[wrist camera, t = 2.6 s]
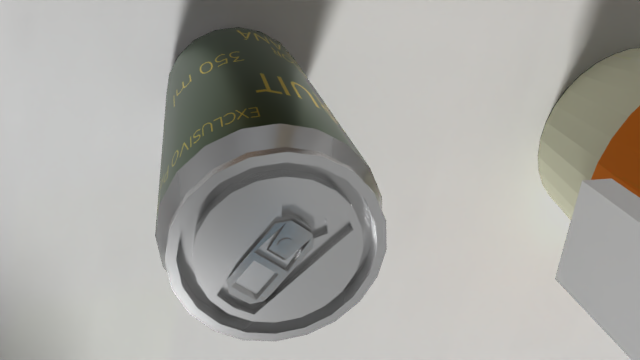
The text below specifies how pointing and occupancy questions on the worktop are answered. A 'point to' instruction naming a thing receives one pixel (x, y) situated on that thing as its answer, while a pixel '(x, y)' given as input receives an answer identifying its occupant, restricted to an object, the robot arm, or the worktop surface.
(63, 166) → the worktop surface
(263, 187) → the beer can
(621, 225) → the robot arm
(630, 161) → the reusable coffee cup
